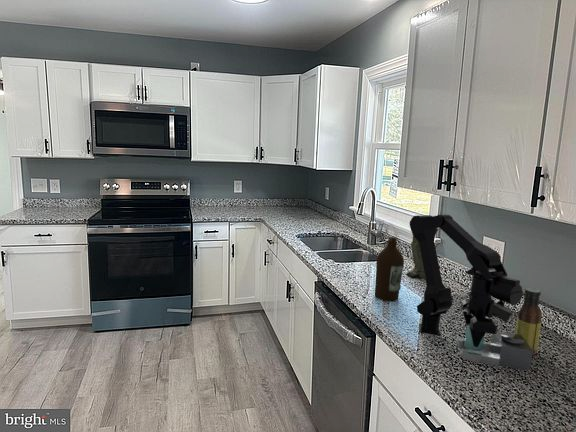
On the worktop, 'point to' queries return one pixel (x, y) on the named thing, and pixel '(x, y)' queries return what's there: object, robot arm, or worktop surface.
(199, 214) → the worktop surface
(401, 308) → the worktop surface
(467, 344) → the teal bottle with cap
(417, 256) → the mechanical leg
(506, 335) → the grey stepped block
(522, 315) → the sauce bottle
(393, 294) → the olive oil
